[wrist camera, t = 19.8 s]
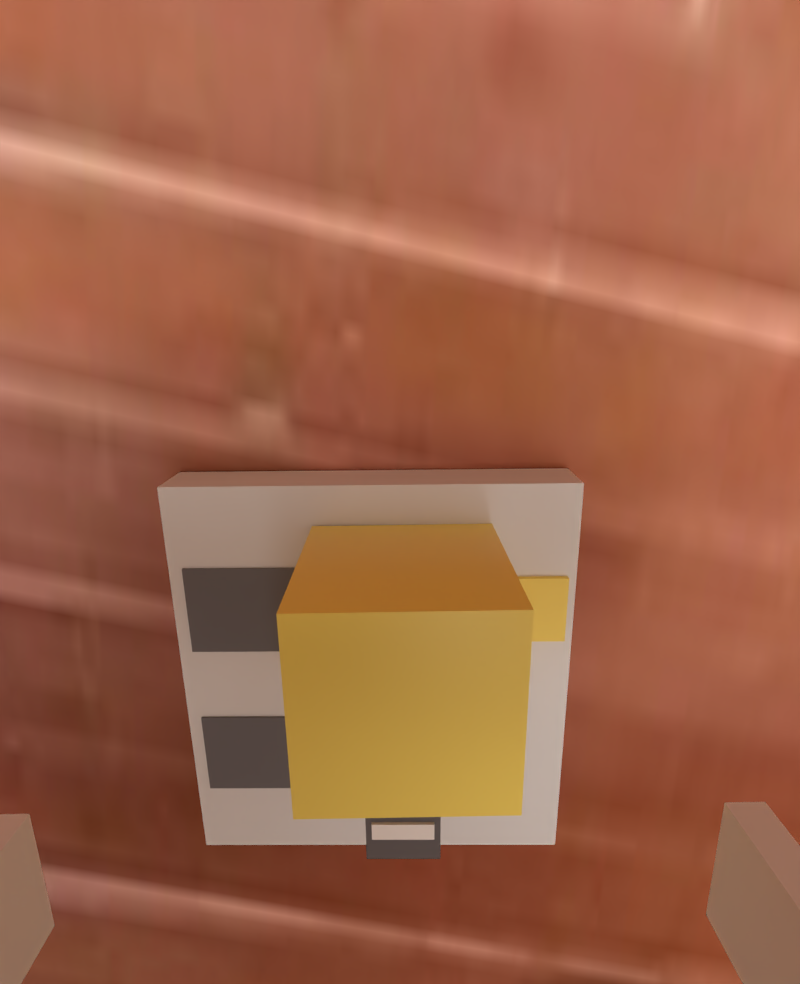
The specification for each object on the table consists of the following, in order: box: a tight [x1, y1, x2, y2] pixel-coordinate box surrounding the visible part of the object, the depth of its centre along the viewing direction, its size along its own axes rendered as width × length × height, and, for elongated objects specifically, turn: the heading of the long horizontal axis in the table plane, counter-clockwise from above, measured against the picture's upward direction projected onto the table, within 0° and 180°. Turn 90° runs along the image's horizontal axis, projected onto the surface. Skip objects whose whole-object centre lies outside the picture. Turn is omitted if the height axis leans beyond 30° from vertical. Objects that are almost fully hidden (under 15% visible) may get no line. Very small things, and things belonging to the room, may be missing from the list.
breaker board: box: [157, 468, 584, 845], centre depth 22 cm, size 14×15×2 cm
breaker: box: [365, 817, 441, 859], centre depth 20 cm, size 2×2×3 cm
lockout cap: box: [276, 523, 534, 819], centre depth 17 cm, size 6×6×6 cm
